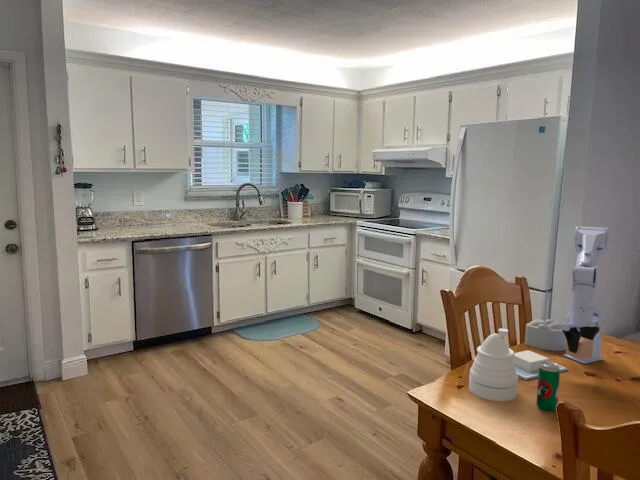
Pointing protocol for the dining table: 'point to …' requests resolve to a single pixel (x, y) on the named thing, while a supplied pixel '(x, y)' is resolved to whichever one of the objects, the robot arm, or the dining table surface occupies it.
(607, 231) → the robot arm
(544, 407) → the soda can
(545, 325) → the lumpy-topped squat cylinder
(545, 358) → the butter dish
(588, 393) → the dining table surface
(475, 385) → the honey pot
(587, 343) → the terracotta block
